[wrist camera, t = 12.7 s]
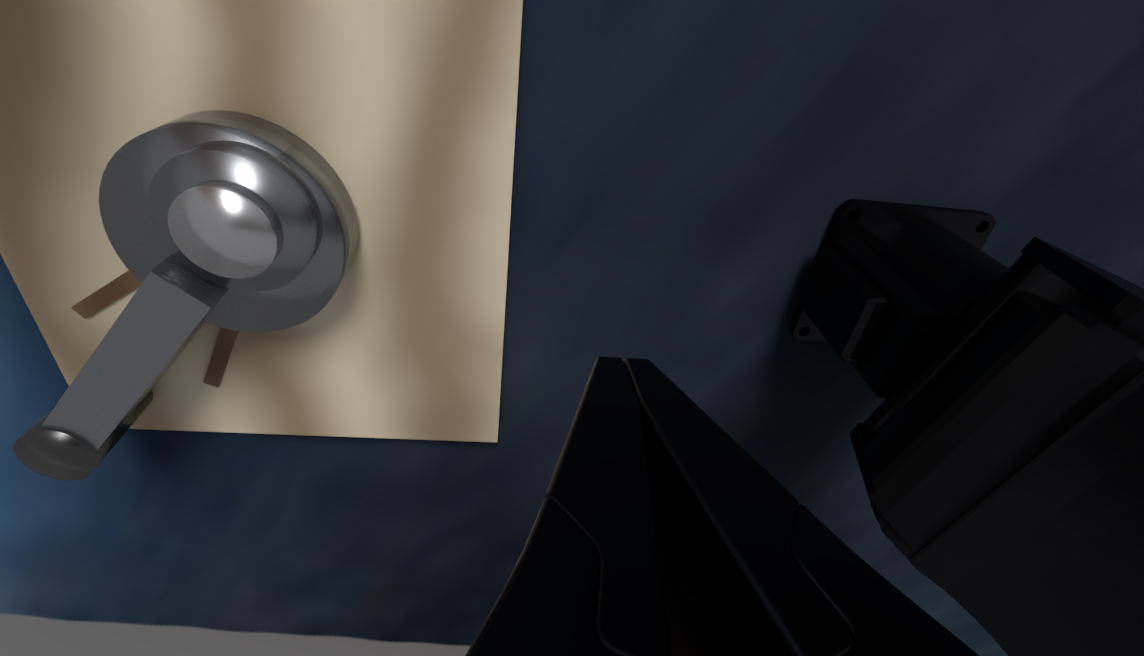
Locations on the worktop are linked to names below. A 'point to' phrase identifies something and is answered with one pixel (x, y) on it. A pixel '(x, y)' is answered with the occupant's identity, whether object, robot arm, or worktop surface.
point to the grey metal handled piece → (198, 264)
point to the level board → (344, 139)
